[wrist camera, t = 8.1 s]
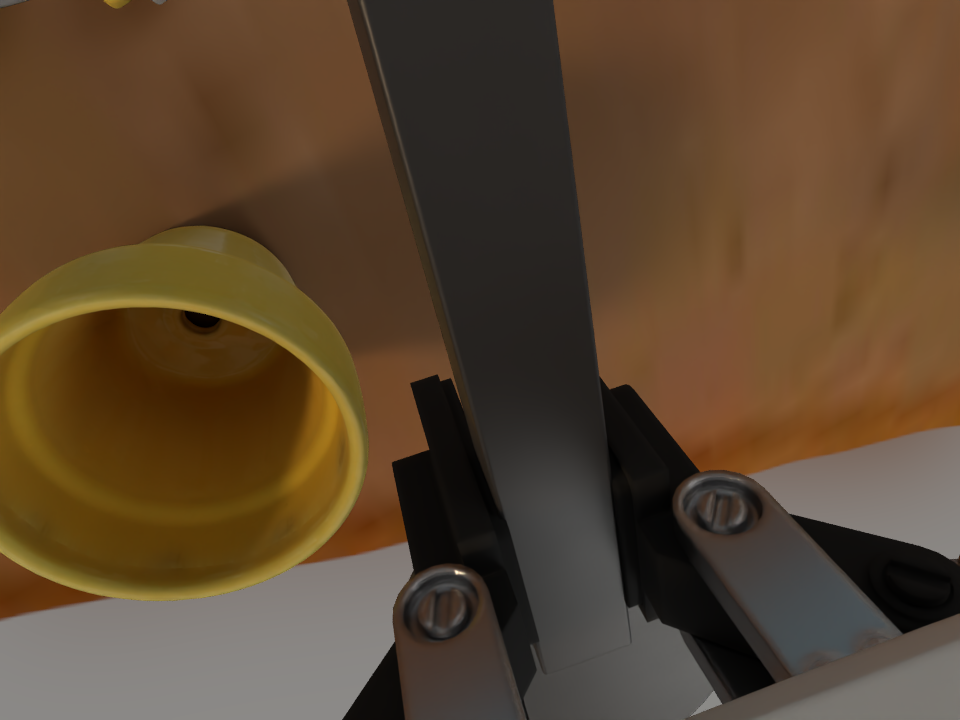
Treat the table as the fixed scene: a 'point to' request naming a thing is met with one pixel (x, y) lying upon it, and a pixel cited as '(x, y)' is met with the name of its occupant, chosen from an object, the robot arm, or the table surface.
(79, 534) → the flower pot
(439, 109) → the ladle
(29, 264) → the table surface
